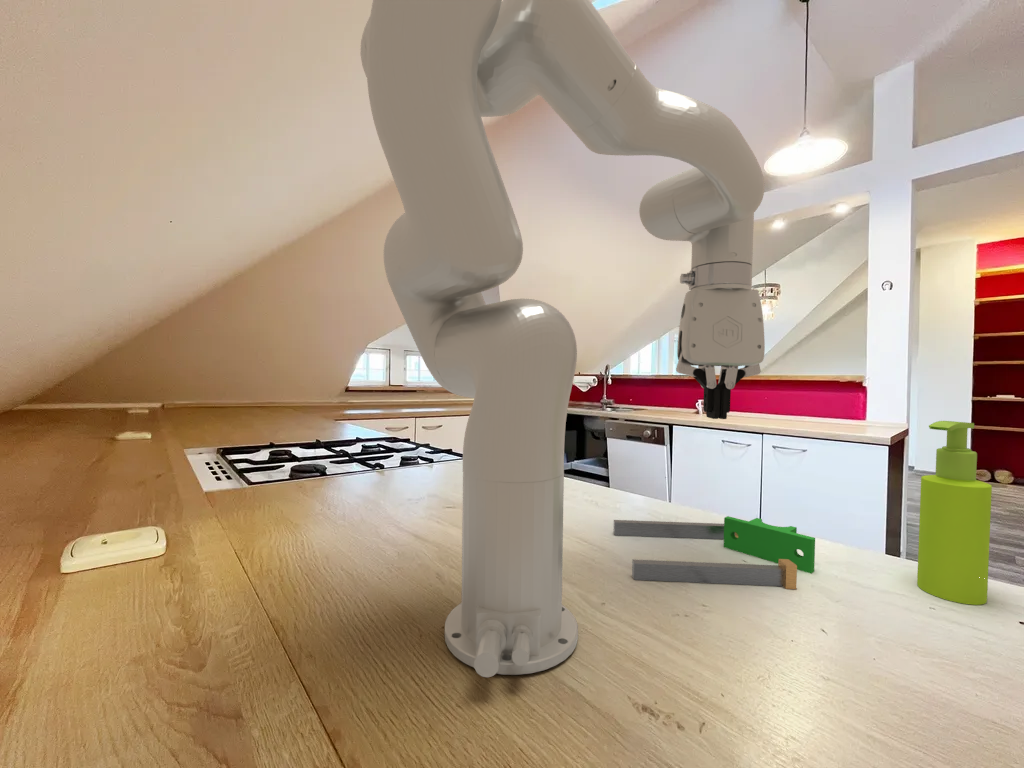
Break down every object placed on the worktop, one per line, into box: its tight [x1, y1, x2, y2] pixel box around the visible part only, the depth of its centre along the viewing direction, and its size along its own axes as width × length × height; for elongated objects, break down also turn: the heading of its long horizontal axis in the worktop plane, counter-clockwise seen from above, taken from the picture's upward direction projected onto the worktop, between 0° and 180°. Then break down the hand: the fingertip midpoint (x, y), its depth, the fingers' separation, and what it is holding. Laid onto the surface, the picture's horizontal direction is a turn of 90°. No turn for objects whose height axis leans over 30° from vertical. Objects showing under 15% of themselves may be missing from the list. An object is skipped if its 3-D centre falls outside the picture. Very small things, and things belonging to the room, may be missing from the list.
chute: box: [613, 519, 798, 590], centre depth 63 cm, size 18×19×3 cm
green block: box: [723, 515, 816, 574], centre depth 63 cm, size 11×4×5 cm, turn 40°
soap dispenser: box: [916, 420, 993, 606], centre depth 53 cm, size 6×7×20 cm
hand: (716, 417), depth 62 cm, fingers closed
